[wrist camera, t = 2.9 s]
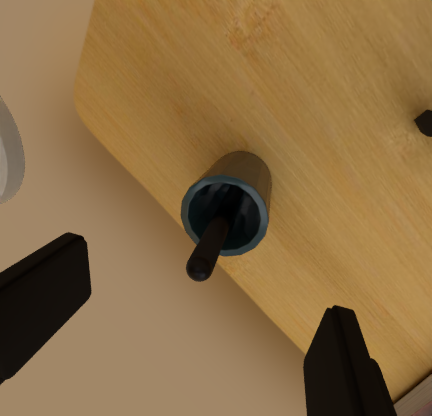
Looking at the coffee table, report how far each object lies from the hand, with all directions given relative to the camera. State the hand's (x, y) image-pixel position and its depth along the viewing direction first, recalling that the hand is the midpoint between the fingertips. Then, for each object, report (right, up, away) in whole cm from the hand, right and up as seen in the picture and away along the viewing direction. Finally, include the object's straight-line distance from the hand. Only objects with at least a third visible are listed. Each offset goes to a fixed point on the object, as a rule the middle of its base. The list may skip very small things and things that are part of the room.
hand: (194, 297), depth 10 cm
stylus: (+3, +6, +13) cm, 14 cm away
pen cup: (+3, +6, +13) cm, 15 cm away
